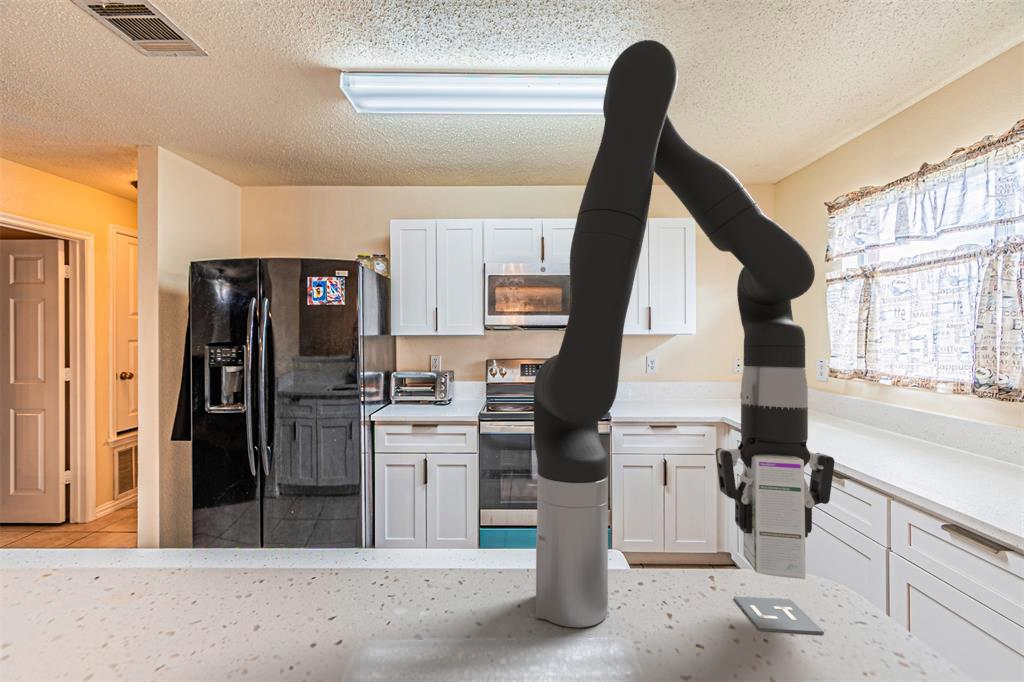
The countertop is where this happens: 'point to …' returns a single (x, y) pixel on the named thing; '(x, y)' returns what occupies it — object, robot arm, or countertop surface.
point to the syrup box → (777, 516)
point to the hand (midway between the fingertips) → (772, 533)
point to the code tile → (777, 615)
